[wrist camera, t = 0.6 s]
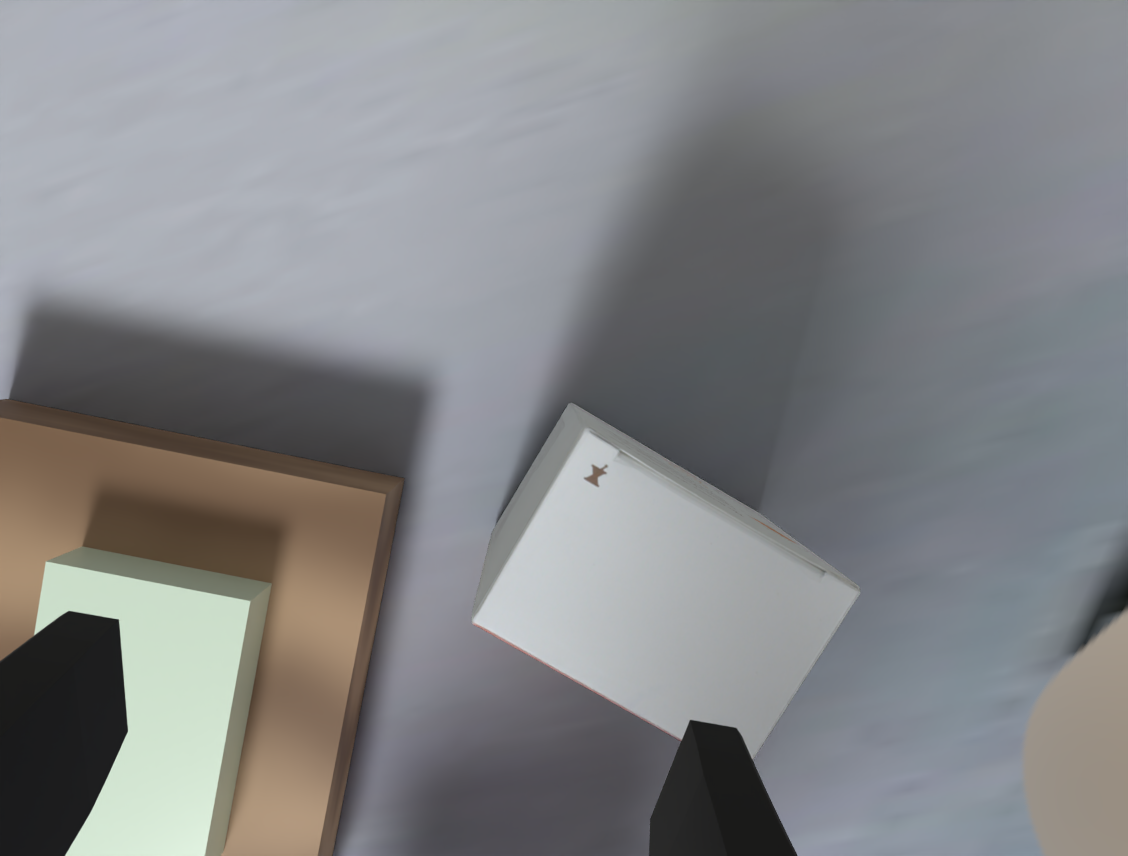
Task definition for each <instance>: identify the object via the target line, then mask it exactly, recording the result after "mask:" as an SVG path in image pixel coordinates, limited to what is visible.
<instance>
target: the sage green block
mask: <svg viewBox="0 0 1128 856" xmlns="http://www.w3.org/2000/svg"><path fill="white" fill-rule="evenodd" d="M271 586H272V583H267V582H262V581H257V580H252V579H247V578H242V577H237V576H231V575H226V574H221V573H216V572H211V571H206V570H201V569H196V568H190V567H185V566H180V565H175V564H170V563H165V562H160V561H155V560H149V559H144V558H139V557H134V556H129V555H124V554H119V553H114V552H108V551H103V550H98V549H93V548H88V547H83V546H82V547H79V548H77V549H75V550H72V551H70V552H67V553H65V554H63V555H60V556H58V557H55V558H53V559H50V560H48V561H46V564H45V570H44V576H43V582H42V589H41V595H40V601H39V608H38V614H37V620H36V626H35V633H34V635H35V634H37V633H38V632H39V631H41V630H42V629H43V628H45V627H46V626H47V625H49V624H50V623H51V622H53V621H54V620H55V619H57V618H58V617H60V616H61V615H63V614H64V613H66V612H68V611H73V612H79V613H85V614H91V615H96V616H102V617H108V618H113V619H119V625H120V637H121V650H122V662H123V674H124V687H125V699H126V711H127V724H128V733H127V735H126V737H125V739H124V742H123V744H122V746H121V748H120V751H119V753H118V755H117V757H116V760H115V762H114V764H113V766H112V768H111V771H110V773H109V775H108V777H107V779H106V781H105V784H104V786H103V788H102V790H101V792H100V794H99V796H98V798H97V800H96V803H95V805H94V807H93V809H92V811H91V813H90V815H89V816H88V818H87V820H86V821H85V823H84V825H83V826H82V828H81V830H80V832H79V833H78V835H77V837H76V838H75V840H74V842H73V843H72V845H71V847H70V848H69V850H68V852H67V853H66V855H65V856H221V854H222V853H223V851H224V846H225V840H226V835H227V829H228V823H229V818H230V812H231V807H232V801H233V796H234V790H235V785H236V779H237V774H238V768H239V763H240V757H241V752H242V746H243V741H244V735H245V729H246V724H247V718H248V713H249V707H250V702H251V696H252V691H253V685H254V680H255V674H256V669H257V663H258V658H259V652H260V646H261V641H262V635H263V630H264V624H265V619H266V613H267V608H268V602H269V597H270V591H271Z"/></svg>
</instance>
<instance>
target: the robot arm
mask: <svg viewBox="0 0 1128 856" xmlns="http://www.w3.org/2000/svg"><path fill="white" fill-rule="evenodd" d="M127 733H128V724H127V711H126V699H125V687H124V674H123V662H122V650H121V637H120V625H119V619H113V618H108V617H102V616H96V615H91V614H85V613H79V612H73V611H68V612H66V613H64V614H63V615H61V616H60V617H58V618H57V619H55V620H54V621H53V622H51V623H50V624H49V625H47V626H46V627H45V628H43V629H42V630H41V631H39V632H38V633H37V634H35V635H34V636H33V637H31V638H30V639H29V640H27V641H26V642H25V643H23V644H22V645H21V646H19V647H18V648H17V649H15V650H14V651H13V652H11V653H10V654H9V655H8V656H6V657H5V658H4V659H2V660H1V661H0V856H65V855H66V853H67V852H68V850H69V848H70V847H71V845H72V843H73V842H74V840H75V838H76V837H77V835H78V833H79V832H80V830H81V828H82V826H83V825H84V823H85V821H86V820H87V818H88V816H89V815H90V813H91V811H92V809H93V807H94V805H95V803H96V800H97V798H98V796H99V794H100V792H101V790H102V788H103V786H104V784H105V781H106V779H107V777H108V775H109V773H110V771H111V768H112V766H113V764H114V762H115V760H116V757H117V755H118V753H119V751H120V748H121V746H122V744H123V742H124V739H125V737H126V735H127ZM649 856H797V854H796V852H795V850H794V848H793V846H792V844H791V842H790V840H789V838H788V835H787V833H786V831H785V829H784V827H783V825H782V823H781V821H780V819H779V817H778V815H777V812H776V810H775V808H774V806H773V804H772V802H771V800H770V798H769V795H768V793H767V791H766V789H765V787H764V785H763V782H762V780H761V778H760V776H759V773H758V771H757V769H756V767H755V764H754V762H753V760H752V758H751V755H750V753H749V751H748V749H747V746H746V744H745V742H744V739H743V737H742V735H741V734H740V732H739V731H738V729H737V728H735V727H729V726H724V725H718V724H712V723H706V722H701V721H695V720H690V721H689V724H688V726H687V729H686V731H685V734H684V736H683V739H682V741H681V744H680V746H679V749H678V751H677V754H676V756H675V759H674V761H673V764H672V766H671V769H670V771H669V774H668V776H667V779H666V781H665V784H664V786H663V789H662V791H661V794H660V796H659V799H658V801H657V804H656V806H655V809H654V811H653V814H652V816H651V819H650V847H649Z"/></svg>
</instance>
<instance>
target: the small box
mask: <svg viewBox="0 0 1128 856" xmlns="http://www.w3.org/2000/svg"><path fill="white" fill-rule="evenodd" d="M859 594H860V588H859V586H858V585H857V584H856V583H854V582H853V581H851V580H850V579H849V578H847V577H846V576H844V575H843V574H842V573H840V572H839V571H838V570H837V569H835V568H834V567H832V566H831V565H829V564H828V563H827V562H825V561H824V560H823V559H821V558H820V557H818V556H817V555H816V554H814V553H813V552H812V551H810V550H809V549H808V548H806V547H805V546H803V545H802V544H801V543H799V542H798V541H796V540H795V539H794V538H792V537H791V536H790V535H788V534H787V533H785V532H784V531H783V530H781V529H780V528H779V527H777V526H776V525H775V524H773V523H772V522H771V521H769V520H768V519H767V518H765V517H764V516H763V515H761V514H760V513H758V512H757V511H755V510H753V509H752V508H750V507H748V506H746V505H745V504H743V503H741V502H740V501H738V500H736V499H734V498H733V497H731V496H729V495H728V494H726V493H724V492H723V491H721V490H719V489H718V488H716V487H714V486H712V485H711V484H709V483H707V482H706V481H704V480H702V479H701V478H699V477H697V476H695V475H694V474H692V473H690V472H689V471H687V470H685V469H683V468H682V467H680V466H678V465H677V464H675V463H673V462H672V461H670V460H668V459H666V458H665V457H663V456H661V455H660V454H658V453H656V452H655V451H653V450H651V449H650V448H648V447H646V446H645V445H643V444H641V443H640V442H638V441H636V440H635V439H633V438H631V437H630V436H628V435H626V434H625V433H623V432H621V431H619V430H618V429H616V428H614V427H613V426H611V425H609V424H608V423H606V422H604V421H602V420H601V419H599V418H597V417H596V416H594V415H592V414H591V413H589V412H587V411H585V410H584V409H582V408H580V407H579V406H577V405H575V404H573V403H569V404H568V405H567V407H566V409H565V410H564V412H563V414H562V415H561V417H560V419H559V421H558V422H557V424H556V426H555V427H554V429H553V430H552V432H551V434H550V435H549V437H548V439H547V440H546V442H545V444H544V445H543V447H542V449H541V450H540V452H539V454H538V455H537V457H536V459H535V460H534V462H533V464H532V465H531V467H530V469H529V470H528V472H527V474H526V475H525V477H524V479H523V480H522V482H521V484H520V486H519V487H518V489H517V491H516V492H515V494H514V496H513V497H512V499H511V501H510V502H509V504H508V506H507V507H506V509H505V511H504V512H503V514H502V516H501V518H500V519H499V521H498V523H497V524H496V526H495V528H494V530H493V531H492V534H491V539H490V542H489V546H488V550H487V554H486V558H485V562H484V566H483V570H482V575H481V578H480V583H479V587H478V590H477V594H476V598H475V602H474V606H473V611H472V619H471V620H472V623H473V625H475V626H477V627H479V628H481V629H483V630H485V631H486V632H488V633H490V634H492V635H493V636H495V637H497V638H499V639H500V640H502V641H504V642H506V643H507V644H509V645H511V646H513V647H514V648H516V649H518V650H520V651H522V652H523V653H525V654H527V655H529V656H531V657H533V658H534V659H536V660H538V661H540V662H542V663H543V664H545V665H547V666H548V667H550V668H552V669H554V670H556V671H557V672H559V673H561V674H563V675H564V676H566V677H568V678H570V679H571V680H573V681H575V682H577V683H578V684H580V685H582V686H584V687H586V688H587V689H589V690H591V691H593V692H595V693H596V694H598V695H600V696H602V697H603V698H605V699H607V700H609V701H610V702H612V703H614V704H616V705H618V706H619V707H621V708H623V709H624V710H626V711H628V712H630V713H632V714H633V715H635V716H637V717H639V718H641V719H642V720H644V721H646V722H648V723H649V724H651V725H653V726H655V727H657V728H658V729H660V730H662V731H664V732H665V733H667V734H669V735H671V736H672V737H674V738H676V739H677V740H679V741H682V739H683V736H684V734H685V731H686V729H687V726H688V724H689V721H690V720H695V721H701V722H706V723H712V724H718V725H724V726H729V727H735V728H737V729H738V731H739V732H740V734H741V735H742V737H743V739H744V742H745V744H746V746H747V749H748V751H749V753H750V755H751V758H752V760H753V759H754V757H755V756H756V754H757V753H758V751H759V750H760V748H761V747H762V745H763V744H764V742H765V740H766V739H767V737H768V736H769V734H770V733H771V731H772V730H773V728H774V727H775V725H776V723H777V722H778V720H779V719H780V717H781V716H782V714H783V713H784V711H785V709H786V708H787V706H788V705H789V703H790V702H791V700H792V699H793V697H794V696H795V694H796V692H797V691H798V689H799V688H800V686H801V685H802V683H803V682H804V680H805V678H806V677H807V675H808V674H809V672H810V671H811V669H812V668H813V666H814V665H815V663H816V661H817V660H818V658H819V657H820V655H821V654H822V652H823V651H824V649H825V647H826V646H827V644H828V643H829V641H830V640H831V638H832V637H833V635H834V633H835V632H836V630H837V629H838V627H839V626H840V624H841V623H842V621H843V619H844V618H845V616H846V615H847V613H848V612H849V610H850V608H851V607H852V605H853V604H854V602H855V601H856V599H857V598H858V596H859Z"/></svg>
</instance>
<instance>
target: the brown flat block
mask: <svg viewBox="0 0 1128 856" xmlns="http://www.w3.org/2000/svg"><path fill="white" fill-rule="evenodd" d="M404 479H405V478H400V477H395V476H390V475H385V474H380V473H375V472H370V471H365V470H360V469H355V468H350V467H345V466H340V465H335V464H330V463H325V462H320V461H315V460H310V459H305V458H300V457H295V456H290V455H285V454H280V453H275V452H270V451H265V450H260V449H255V448H250V447H245V446H240V445H235V444H230V443H225V442H220V441H215V440H210V439H205V438H200V437H195V436H190V435H185V434H180V433H175V432H170V431H165V430H160V429H155V428H150V427H145V426H140V425H135V424H130V423H125V422H120V421H115V420H110V419H105V418H100V417H95V416H90V415H85V414H80V413H75V412H70V411H65V410H60V409H55V408H50V407H45V406H40V405H35V404H30V403H25V402H20V401H15V400H10V399H3V400H0V661H1V660H2V659H4V658H5V657H6V656H8V655H9V654H10V653H11V652H13V651H14V650H15V649H17V648H18V647H19V646H21V645H22V644H23V643H25V642H26V641H27V640H29V639H30V638H31V637H33V636H34V633H35V626H36V620H37V614H38V608H39V601H40V595H41V589H42V582H43V576H44V570H45V564H46V561H48V560H50V559H53V558H55V557H58V556H60V555H63V554H65V553H67V552H70V551H72V550H75V549H77V548H79V547H82V546H83V547H88V548H93V549H98V550H103V551H108V552H114V553H119V554H124V555H129V556H134V557H139V558H144V559H149V560H155V561H160V562H165V563H170V564H175V565H180V566H185V567H190V568H196V569H201V570H206V571H211V572H216V573H221V574H226V575H231V576H237V577H242V578H247V579H252V580H257V581H262V582H267V583H272V586H271V591H270V597H269V602H268V608H267V613H266V619H265V624H264V630H263V635H262V641H261V646H260V652H259V658H258V663H257V669H256V674H255V680H254V685H253V691H252V696H251V702H250V707H249V713H248V718H247V724H246V729H245V735H244V741H243V746H242V752H241V757H240V763H239V768H238V774H237V779H236V785H235V790H234V796H233V801H232V807H231V812H230V818H229V823H228V829H227V835H226V840H225V846H224V851H223V853H222V854H221V856H332V855H333V850H334V845H335V840H336V835H337V829H338V824H339V819H340V814H341V808H342V803H343V798H344V793H345V788H346V782H347V777H348V772H349V767H350V761H351V756H352V751H353V746H354V741H355V735H356V730H357V725H358V720H359V714H360V709H361V704H362V699H363V694H364V688H365V683H366V678H367V673H368V667H369V662H370V657H371V652H372V647H373V641H374V636H375V631H376V626H377V620H378V615H379V610H380V605H381V600H382V594H383V589H384V584H385V579H386V573H387V568H388V563H389V558H390V553H391V547H392V542H393V537H394V532H395V526H396V521H397V516H398V511H399V506H400V500H401V495H402V490H403V485H404Z"/></svg>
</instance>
